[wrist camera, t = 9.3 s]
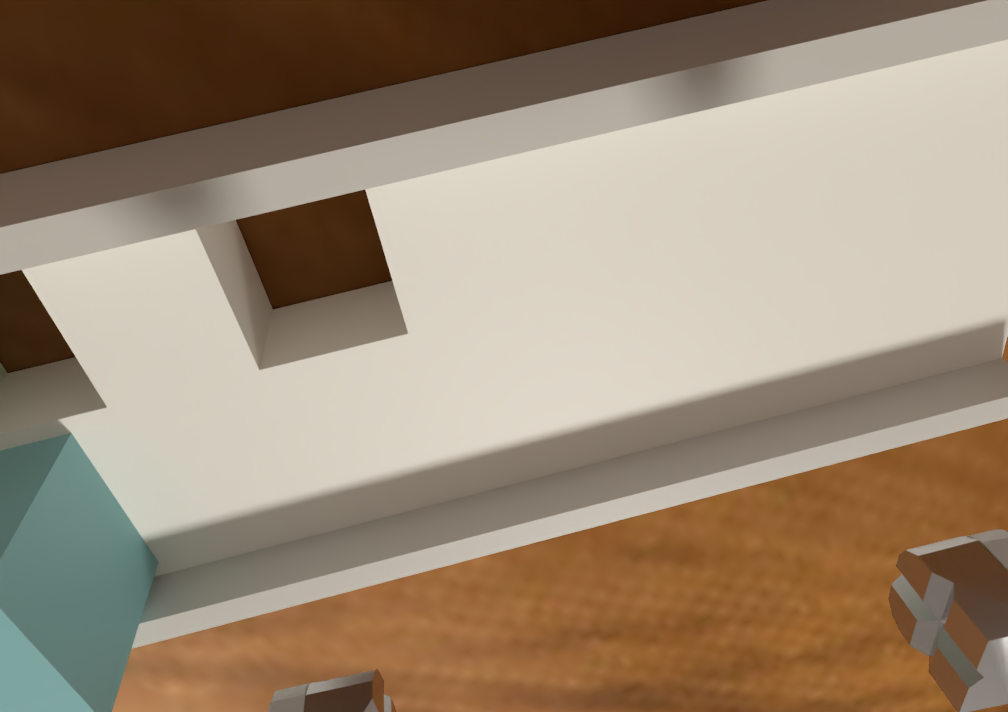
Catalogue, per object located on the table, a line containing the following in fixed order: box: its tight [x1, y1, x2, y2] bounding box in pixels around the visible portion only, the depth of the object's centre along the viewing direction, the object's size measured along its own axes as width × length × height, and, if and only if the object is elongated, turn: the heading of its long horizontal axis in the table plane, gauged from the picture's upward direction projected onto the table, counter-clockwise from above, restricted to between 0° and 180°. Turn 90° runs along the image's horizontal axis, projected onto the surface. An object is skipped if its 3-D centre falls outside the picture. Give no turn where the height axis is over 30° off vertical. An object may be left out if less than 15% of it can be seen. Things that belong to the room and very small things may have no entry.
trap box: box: [0, 0, 1008, 649], centre depth 17 cm, size 30×11×4 cm, turn 100°
